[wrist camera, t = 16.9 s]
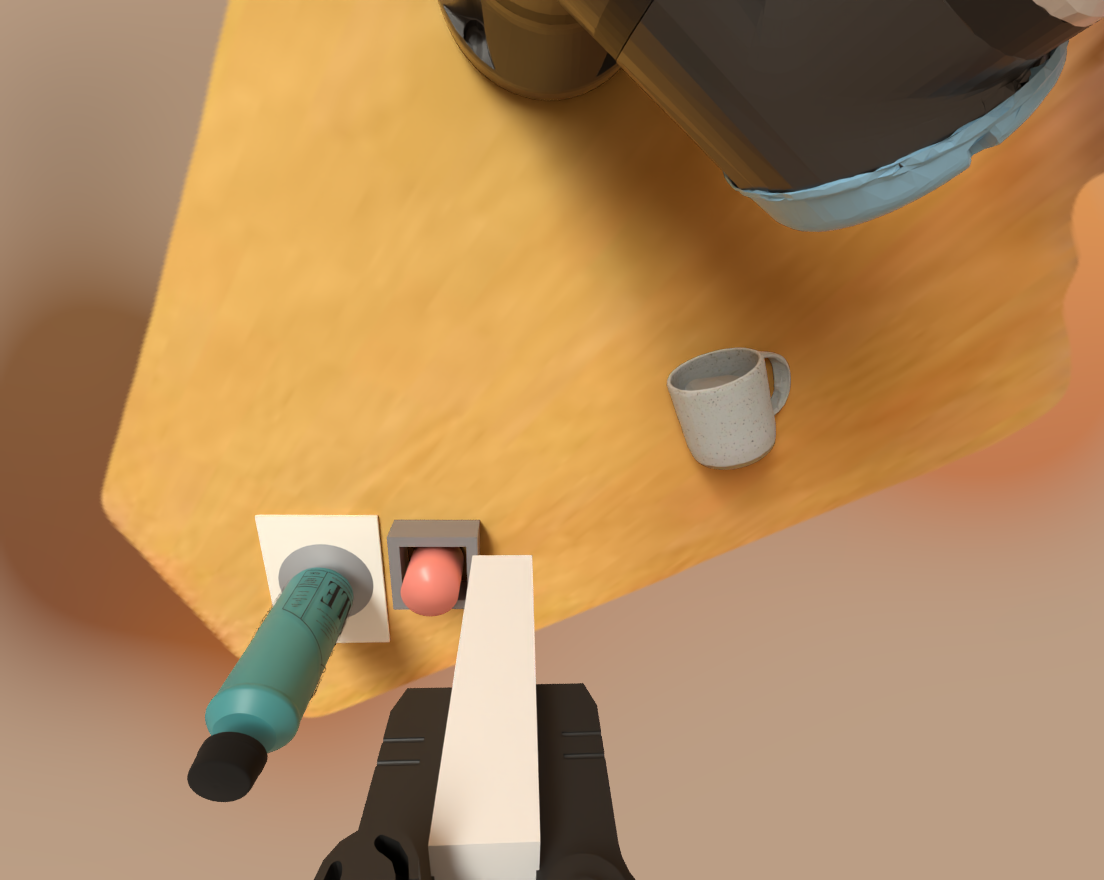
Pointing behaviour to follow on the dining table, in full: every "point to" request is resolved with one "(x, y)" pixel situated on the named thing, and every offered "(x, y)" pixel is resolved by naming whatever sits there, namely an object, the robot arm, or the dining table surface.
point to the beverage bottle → (271, 684)
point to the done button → (433, 580)
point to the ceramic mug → (729, 405)
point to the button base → (429, 536)
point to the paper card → (331, 563)
